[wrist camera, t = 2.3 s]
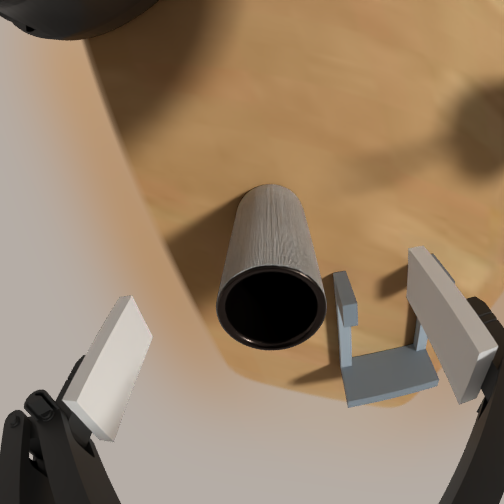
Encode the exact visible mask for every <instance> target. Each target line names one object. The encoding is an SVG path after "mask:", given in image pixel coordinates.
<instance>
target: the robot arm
mask: <svg viewBox="0 0 504 504" xmlns="http://www.w3.org/2000/svg"><path fill="white" fill-rule="evenodd" d="M157 1H158V0H0V16H1V17H3V18H5V19H7V20H9V21H11V22H13V24H14V25H15V26H17V27H18V28H19V29H21V30H22V31H24V32H26V33H28V34H30V35H33V36H36V37H40V38H45V39H56V40H81V39H86V38H91V37H94V36H98V35H101V34H104V33H106V32H109V31H111V30H113V29H116V28H118V27H120V26H122V25H123V24H125V23H127V22H129V21H131V20H132V19H134V18H136V17H137V16H139V15H140V14H142V13H143V12H144V11H146V10H147V9H148V8H150V7H151V6H152V5H154V4H155V3H156V2H157ZM406 298H407V300H408V301H409V303H410V305H411V307H412V309H413V310H414V312H415V314H416V316H417V318H418V320H419V322H420V324H421V325H422V327H423V329H424V331H425V333H426V335H427V337H428V339H429V341H430V343H431V345H432V347H433V349H434V351H435V353H436V355H437V357H438V359H439V361H440V363H441V365H442V368H443V370H444V372H445V374H446V376H447V378H448V380H449V383H450V385H451V387H452V389H453V391H454V394H455V396H456V398H457V401H458V403H459V404H462V403H465V402H468V401H470V400H473V399H475V398H477V395H478V393H479V391H480V389H482V391H483V393H484V395H485V397H484V399H483V401H482V403H481V405H480V407H479V409H478V410H477V412H478V416H477V419H476V422H475V425H474V427H473V430H472V433H471V435H470V438H469V440H468V443H467V445H466V448H465V450H464V453H463V455H462V457H461V459H460V462H459V464H458V466H457V468H456V471H455V473H454V475H453V477H452V479H451V481H450V483H449V485H448V487H447V489H446V491H445V493H444V495H443V497H442V498H441V500H440V502H439V504H499V503H500V500H501V498H502V495H503V492H504V328H503V326H502V325H501V323H500V322H499V321H498V320H497V319H496V317H495V315H494V314H493V313H492V312H491V310H490V309H489V307H488V306H487V305H486V303H485V302H483V301H482V300H480V299H478V298H477V297H471V298H468V299H465V297H464V296H463V295H462V293H461V292H460V291H459V289H458V288H457V287H456V285H455V284H454V283H453V281H452V280H451V279H450V278H449V276H448V275H447V274H446V273H445V271H444V270H443V269H442V268H441V266H440V265H439V264H438V263H437V261H436V260H435V259H434V258H433V257H432V255H431V254H430V253H429V252H428V251H427V249H426V248H425V247H424V246H418V247H413V248H408V279H407V297H406ZM152 338H153V336H152V334H151V332H150V330H149V328H148V327H147V324H146V322H145V320H144V319H143V317H142V314H141V312H140V311H139V308H138V306H137V304H136V303H135V300H134V298H133V296H132V295H131V296H124V297H119V299H118V300H117V302H116V304H115V305H114V307H113V309H112V311H111V312H110V314H109V315H108V317H107V319H106V320H105V322H104V324H103V326H102V327H101V329H100V331H99V333H98V334H97V336H96V338H95V340H94V341H93V343H92V345H91V347H90V348H89V350H88V352H87V354H86V355H83V356H82V357H81V358H80V359H79V360H78V361H77V362H76V364H75V366H74V367H73V370H72V371H71V373H70V375H69V377H68V380H66V382H65V384H64V386H63V388H62V390H61V392H60V394H59V396H58V397H57V399H56V401H54V400H53V399H52V398H51V396H50V395H49V394H48V393H47V392H46V391H45V390H37V391H35V392H33V393H32V394H30V395H29V397H28V398H27V399H26V402H25V404H24V409H25V410H26V411H27V412H28V413H29V414H30V415H31V417H27V416H26V415H25V414H24V413H23V412H22V411H20V410H15V411H13V412H12V413H10V414H9V415H8V417H7V418H6V420H5V423H4V429H3V436H2V443H1V451H0V504H121V503H120V501H119V499H118V497H117V495H116V493H115V491H114V488H113V486H112V484H111V482H110V480H109V478H108V476H107V473H106V471H105V469H104V467H103V464H102V462H101V459H100V457H99V455H98V452H97V450H96V447H95V445H94V443H93V441H92V440H91V439H90V436H91V433H93V434H95V436H96V437H97V438H98V439H99V440H104V441H112V442H114V440H115V437H116V434H117V431H118V428H119V425H120V423H121V420H122V417H123V414H124V412H125V409H126V406H127V403H128V401H129V398H130V395H131V392H132V389H133V387H134V384H135V382H136V379H137V376H138V373H139V371H140V369H141V366H142V363H143V361H144V358H145V356H146V353H147V350H148V348H149V346H150V343H151V340H152ZM29 452H30V453H31V454H32V455H33V460H31V459H30V458H29Z"/></svg>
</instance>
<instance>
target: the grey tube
mask: <svg viewBox="0 0 504 504" xmlns="http://www.w3.org/2000/svg"><path fill="white" fill-rule="evenodd" d="M326 310H327V302H326V296H325V292H324V288H323V284H322V279H321V275H320V271H319V267H318V263H317V259H316V255H315V251H314V248H313V244H312V240H311V236H310V232H309V228H308V225H307V221H306V217H305V214H304V210H303V207H302V205H301V203H300V201H299V199H298V198H297V196H296V195H295V194H294V193H293V192H292V191H290V190H289V189H287V188H285V187H283V186H280V185H275V184H266V185H261V186H258V187H255V188H253V189H252V190H250V191H249V192H248V193H247V194H246V195H245V196H244V197H243V198H242V200H241V202H240V204H239V206H238V209H237V213H236V217H235V221H234V226H233V230H232V234H231V238H230V243H229V247H228V252H227V256H226V260H225V265H224V269H223V274H222V278H221V283H220V287H219V292H218V297H217V302H216V312H217V316H218V319H219V322H220V324H221V326H222V327H223V329H224V330H225V331H226V332H227V333H228V334H229V335H230V336H231V337H232V338H233V339H235V340H236V341H238V342H240V343H242V344H244V345H246V346H249V347H252V348H255V349H260V350H282V349H287V348H290V347H293V346H296V345H299V344H301V343H302V342H304V341H306V340H307V339H309V338H310V337H311V336H312V335H314V334H315V333H316V331H317V330H318V329H319V328H320V326H321V325H322V323H323V321H324V318H325V315H326Z"/></svg>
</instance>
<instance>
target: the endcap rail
mask: <svg viewBox="0 0 504 504" xmlns="http://www.w3.org/2000/svg"><path fill="white" fill-rule="evenodd" d="M431 255H432V257H433V258H434V259H435V260H436V261H437V263H438V264H439V265H440V266H441V268H442V269H443V270H444V271H445V273H446V274H447V275H448V276H449V278H450V279H451V280H452V281H453V283H454V284H455V281H454V279H453V278H452V277H451V276H450V274H449V273H448V272H447V270H446V269H445V268H444V267H443V265H442V264H441V263H440V262H439V260H438V259H437V258H436V257H435V255H434V254H431ZM333 279H334V289H335V300H336V312H337V325H338V339H339V355H340V368H341V373H342V378H343V384H344V389H345V394H346V400H347V405H348V408H349V407H354V406H359V405H364V404H369V403H374V402H378V401H383V400H387V399H391V398H395V397H399V396H403V395H407V394H411V393H414V392H418V391H422V390H425V389H429V388H432V387H435V386H437V385H438V381H439V378H438V376H437V373H436V371H435V369H434V366H433V364H432V362H431V360H430V357H429V355H428V353H427V351H426V344H427V339H428V337H427V335H426V333H425V331H424V329H423V327H422V325H421V324H420V322H419V320H418V318H417V321H416V329H415V336H414V342H413V344H411V345H407V346H403V347H399V348H394V349H390V350H386V351H381V352H377V353H372V354H367V355H362V356H357V357H352V346H351V326H356V325H358V312H357V301H356V298H355V295H354V293H353V290H352V287H351V284H350V281H349V279H348V276H347V273H346V271H342V272H336V273H333Z"/></svg>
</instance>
